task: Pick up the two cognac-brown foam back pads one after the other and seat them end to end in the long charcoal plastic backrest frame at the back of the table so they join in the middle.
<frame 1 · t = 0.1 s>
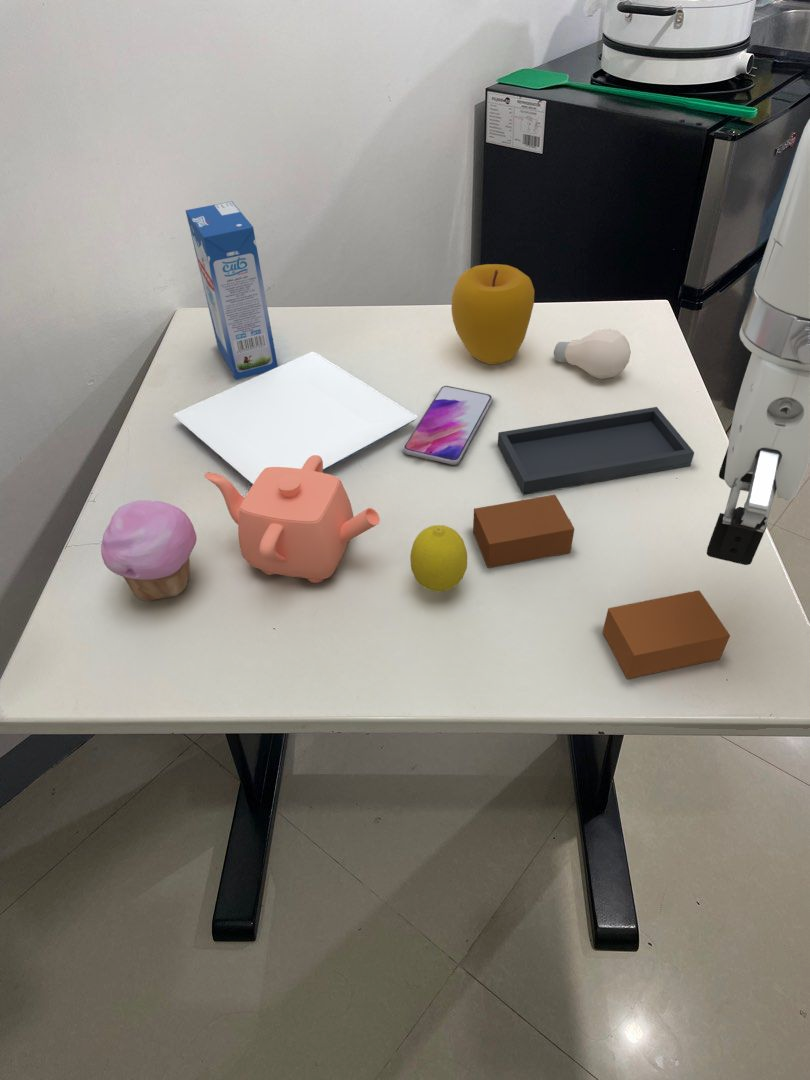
hand: (733, 517, 59), 14 cm above the table, tool pointing down, fingers open, 9 cm apart
apple: (489, 357, 105), on the table
smartphone: (449, 427, 93), on the table
cupcake: (167, 586, 75), on the table
milk carton: (247, 359, 107), on the table
pad a: (659, 645, 68), on the table
plate: (296, 428, 94), on the table
lemon: (438, 588, 74), on the table
light bulb: (588, 370, 102), on the table
teapot: (301, 555, 78), on the table
pad b: (520, 542, 78), on the table
frame: (591, 455, 88), on the table
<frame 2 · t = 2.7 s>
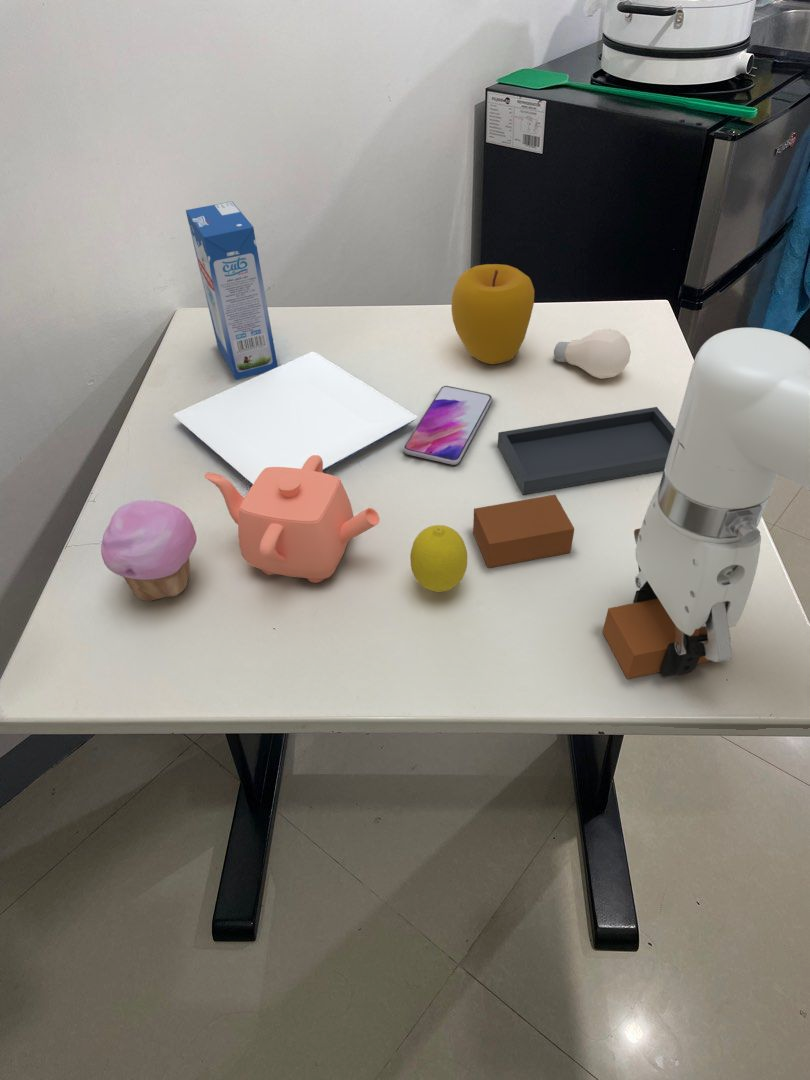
hand: (660, 642, 67), 1 cm above the table, tool pointing down, fingers closed on pad a, 5 cm apart
pad a: (659, 645, 68), on the table, touching gripper
everything else where it was.
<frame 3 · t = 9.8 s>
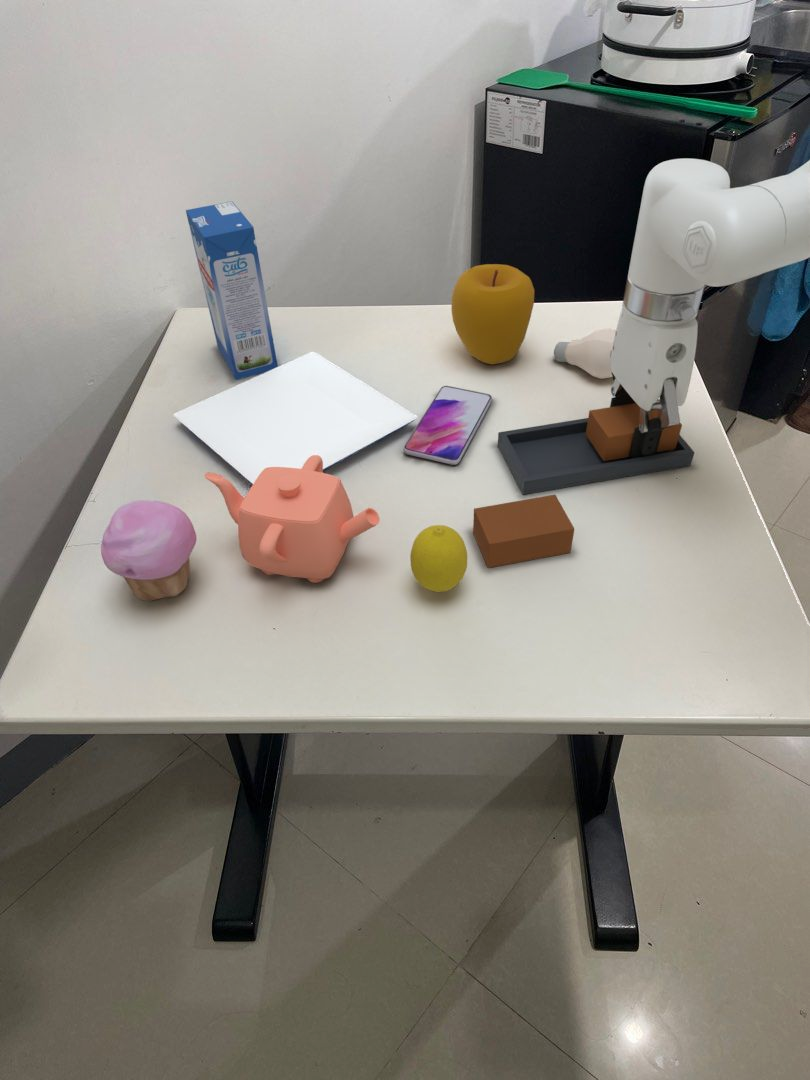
hand: (631, 438, 87), 2 cm above the table, tool pointing down, fingers closed on pad a, 5 cm apart
pad a: (629, 441, 88), point 1 cm above the table, touching gripper
everything else where it was.
when the fingers open (3 cm above the table, at t = 17.5 s): pad a drops 2 cm, resting on frame.
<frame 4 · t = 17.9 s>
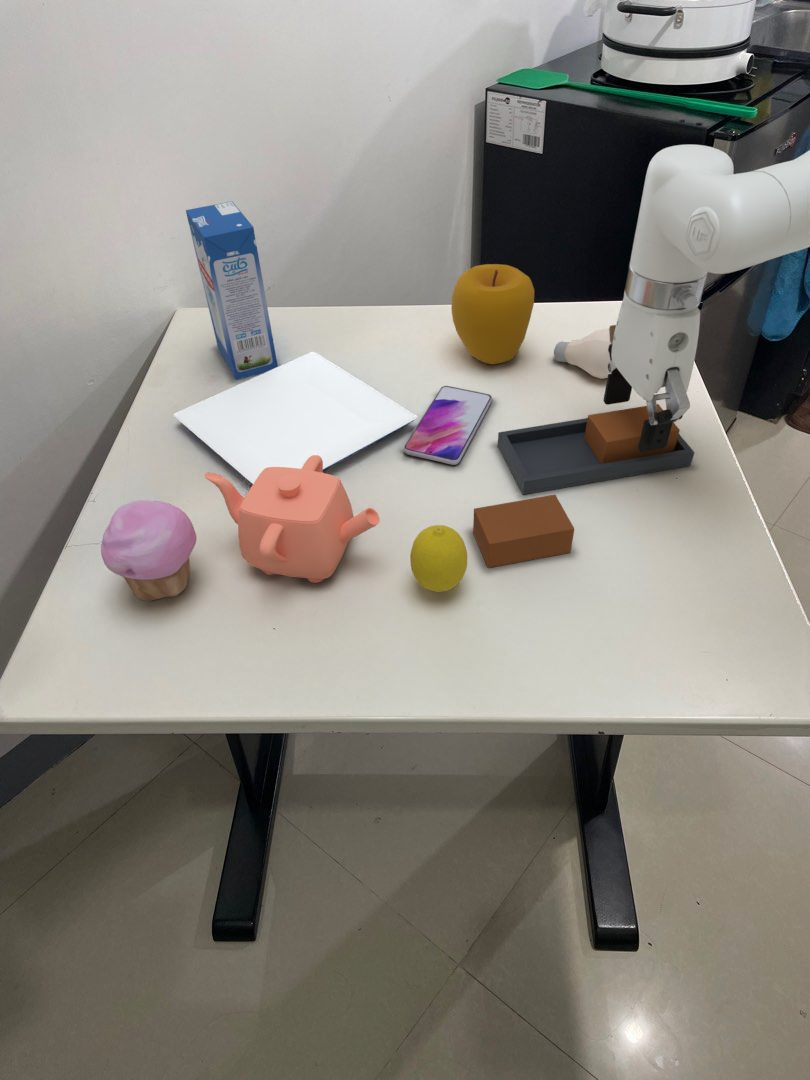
hand: (633, 424, 86), 4 cm above the table, tool pointing down, fingers open, 9 cm apart
pad a: (627, 446, 88), resting on frame
everything else where it was.
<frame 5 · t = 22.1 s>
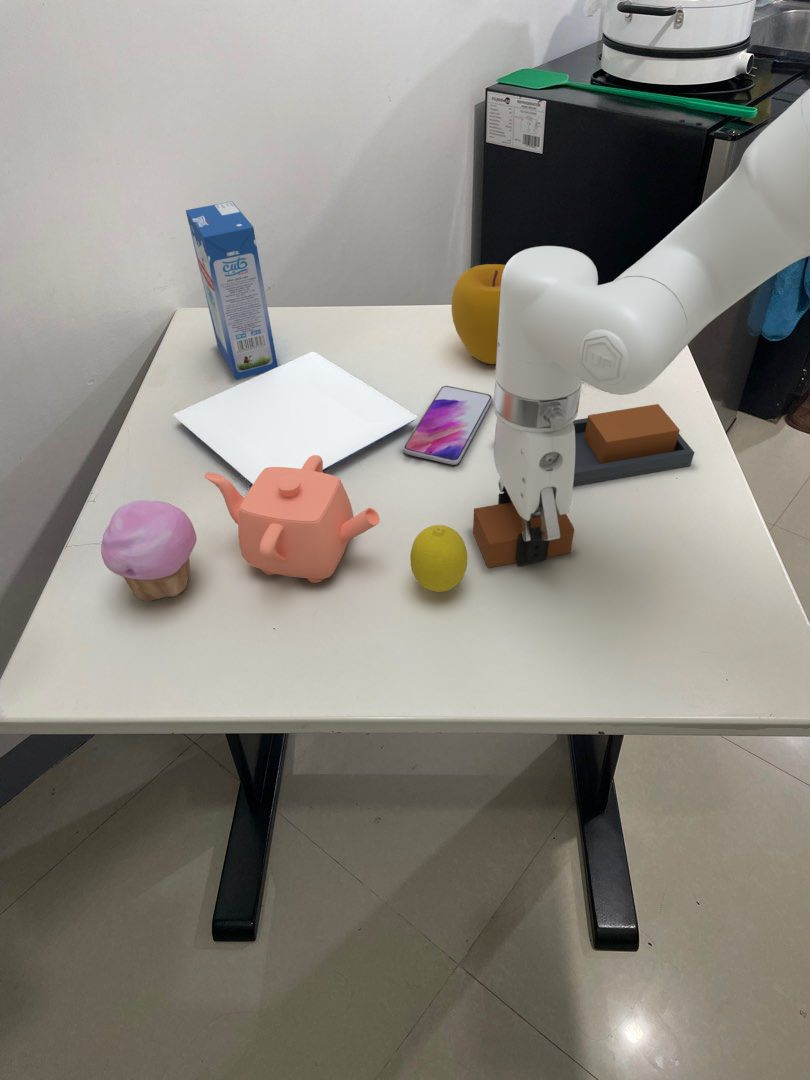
hand: (521, 539, 78), 1 cm above the table, tool pointing down, fingers closed on pad b, 5 cm apart
pad b: (520, 542, 78), on the table, touching gripper
everything else where it was.
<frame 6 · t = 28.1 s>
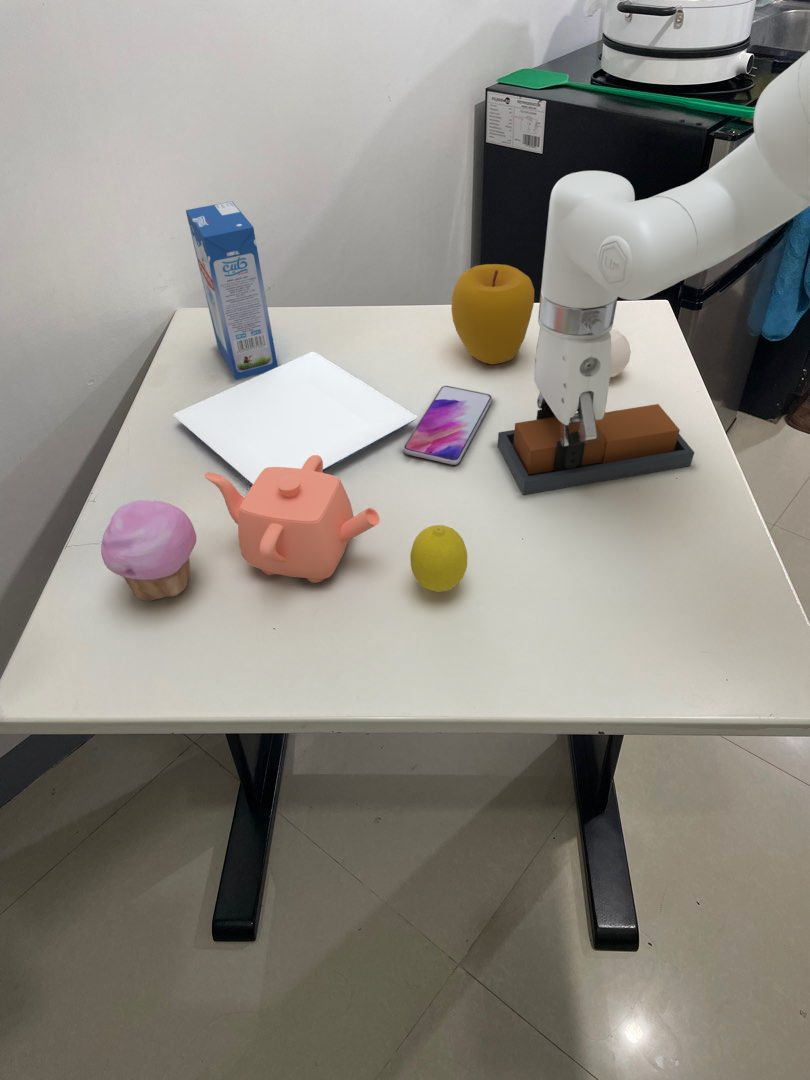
hand: (557, 451, 86), 2 cm above the table, tool pointing down, fingers closed on pad b, 5 cm apart
pad b: (556, 454, 87), point 1 cm above the table, touching gripper
everything else where it was.
when the fingers open (3 cm above the table, at t = 35.9 s): pad b drops 2 cm, resting on frame.
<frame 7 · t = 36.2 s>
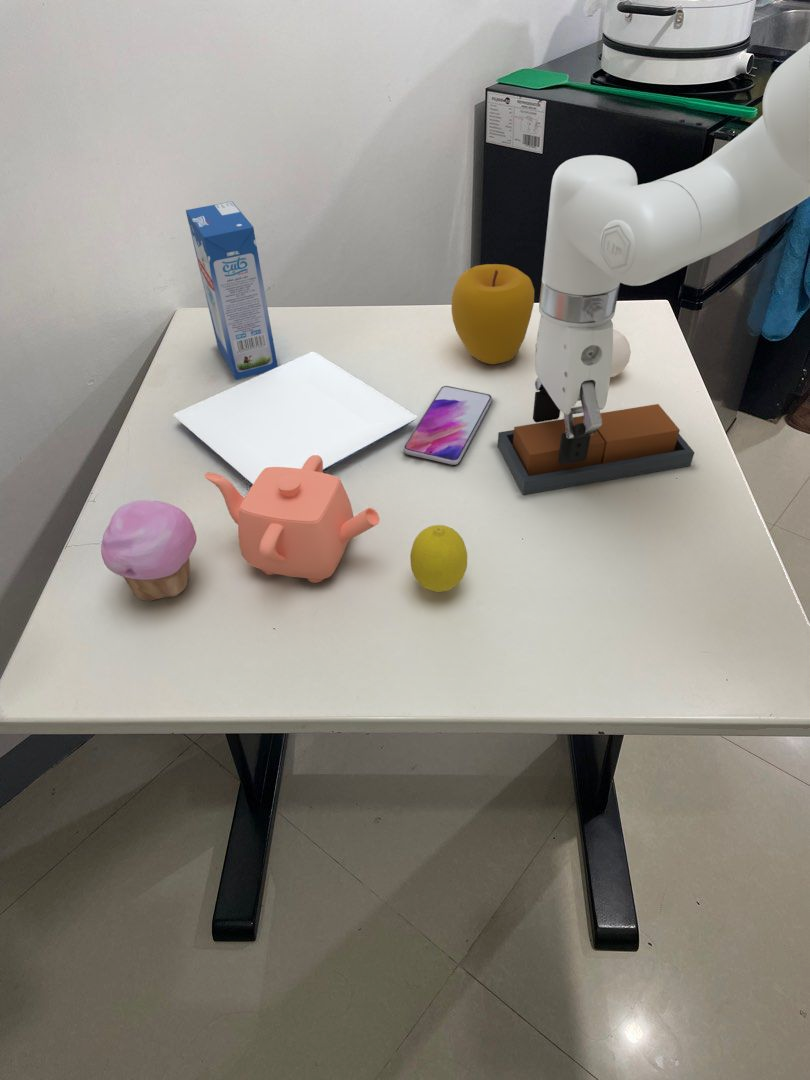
hand: (558, 439, 85), 3 cm above the table, tool pointing down, fingers open, 7 cm apart
pad b: (555, 458, 87), resting on frame
everything else where it was.
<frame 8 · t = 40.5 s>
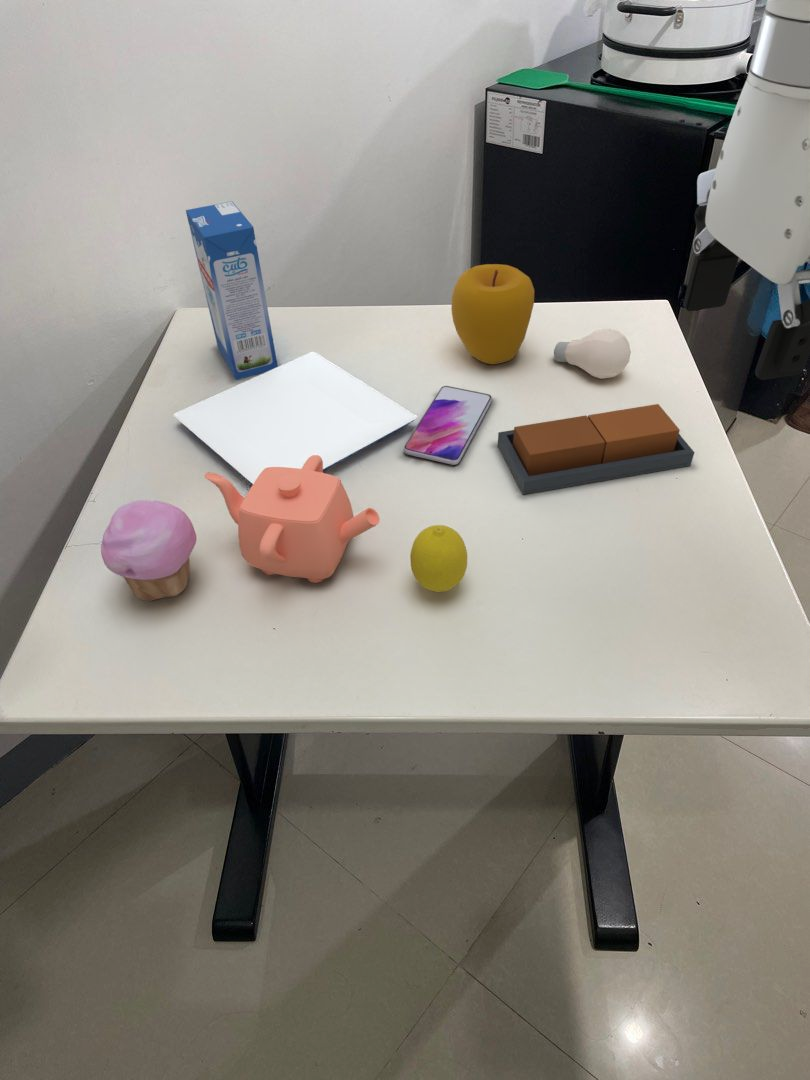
hand: (738, 338, 52), 28 cm above the table, tool pointing down, fingers open, 9 cm apart
nothing on the table moved.
at the end: pad a 0.2 cm from the target spot in the frame, point 0.5 cm above the frame's base; pad b 0.1 cm from the target spot in the frame, point 0.5 cm above the frame's base; pad a 9.2 cm from the pad b (horizontally) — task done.
